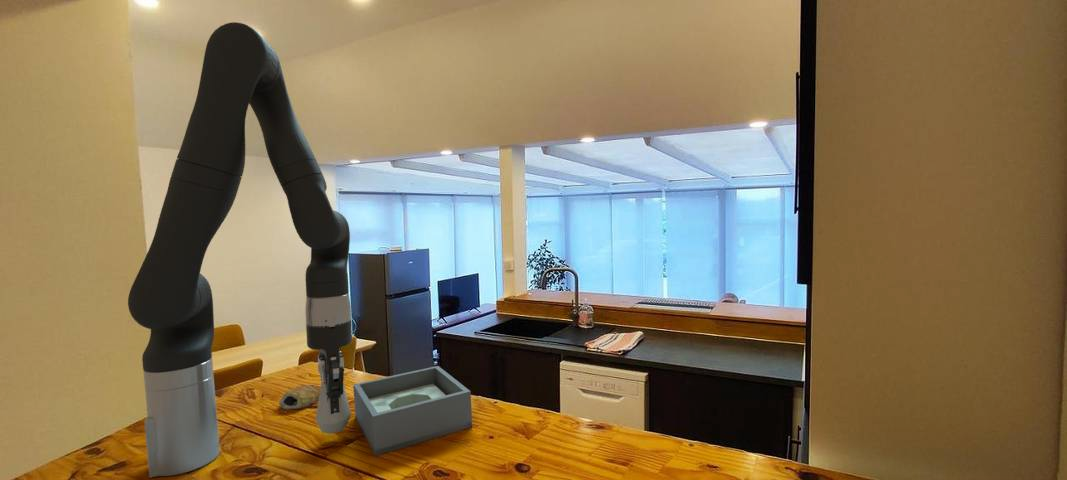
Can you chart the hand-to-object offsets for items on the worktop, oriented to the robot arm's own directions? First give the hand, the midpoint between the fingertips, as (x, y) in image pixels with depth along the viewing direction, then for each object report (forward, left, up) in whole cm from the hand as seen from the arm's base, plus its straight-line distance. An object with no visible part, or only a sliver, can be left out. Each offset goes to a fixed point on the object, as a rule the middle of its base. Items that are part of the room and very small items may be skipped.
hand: (333, 411), depth 83 cm
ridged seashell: (-4, +23, -6) cm, 24 cm away
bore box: (+14, -2, -5) cm, 15 cm away
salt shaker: (0, 0, -3) cm, 3 cm away
